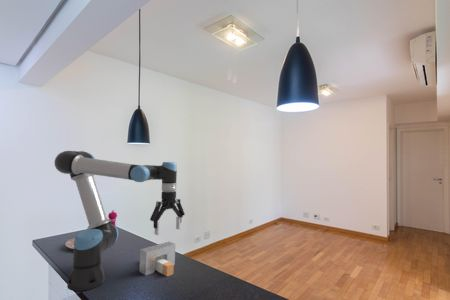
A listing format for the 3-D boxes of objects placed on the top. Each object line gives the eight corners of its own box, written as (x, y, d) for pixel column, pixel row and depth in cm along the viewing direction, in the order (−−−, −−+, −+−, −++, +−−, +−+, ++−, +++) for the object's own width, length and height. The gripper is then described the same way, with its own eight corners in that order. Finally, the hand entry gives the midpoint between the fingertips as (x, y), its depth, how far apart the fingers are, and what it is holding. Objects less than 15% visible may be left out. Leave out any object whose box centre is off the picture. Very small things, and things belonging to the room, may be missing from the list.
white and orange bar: (173, 273, 126) (173, 264, 127) (166, 276, 123) (167, 266, 124) (148, 260, 142) (148, 251, 143) (142, 262, 139) (142, 253, 140)
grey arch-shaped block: (174, 264, 137) (175, 244, 138) (145, 275, 124) (146, 252, 124) (168, 261, 141) (169, 241, 142) (139, 271, 128) (140, 249, 128)
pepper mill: (118, 235, 186) (119, 209, 187) (114, 238, 179) (115, 211, 180) (108, 235, 186) (110, 209, 187) (104, 238, 179) (105, 211, 180)
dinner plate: (119, 240, 176) (119, 235, 177) (95, 254, 149) (96, 249, 149) (83, 238, 179) (84, 233, 179) (54, 251, 152) (54, 246, 152)
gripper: (152, 193, 118) (150, 238, 117) (191, 189, 136) (190, 228, 135) (143, 192, 122) (142, 235, 121) (182, 188, 141) (181, 225, 140)
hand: (167, 231), depth 128 cm, fingers open, 13 cm apart
